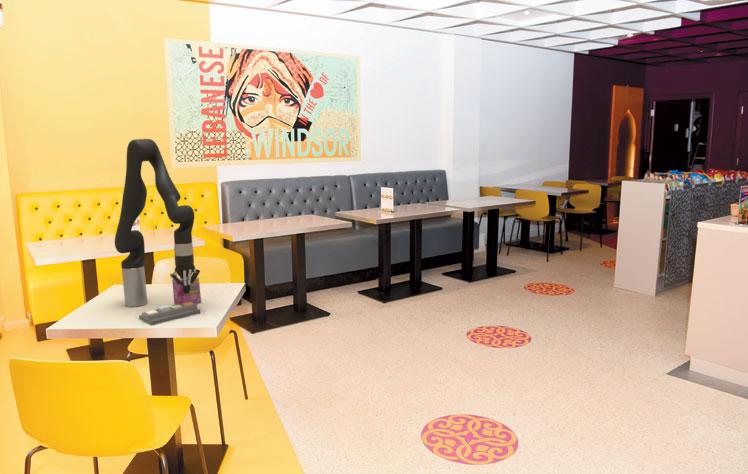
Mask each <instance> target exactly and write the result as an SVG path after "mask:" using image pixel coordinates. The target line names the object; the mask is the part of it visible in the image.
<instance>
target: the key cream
mask: <svg viewBox="0 0 748 474" xmlns="http://www.w3.org/2000/svg"><path fill="white" fill-rule="evenodd" d="M155 310H156V309H152V310H148V311H145V314H147V315H153V314H157V313H158V312H157V311H155Z"/></svg>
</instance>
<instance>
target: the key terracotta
mask: <svg viewBox="0 0 748 474" xmlns="http://www.w3.org/2000/svg"><path fill="white" fill-rule="evenodd" d="M191 305H194V303H191V302H187V303H183V304H182V306H184V307H187V306H191Z"/></svg>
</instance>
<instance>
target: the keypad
mask: <svg viewBox="0 0 748 474" xmlns="http://www.w3.org/2000/svg"><path fill="white" fill-rule="evenodd" d="M191 303H192V302H191ZM179 305H181V306H182V304H179ZM182 307H183V308H178V309H174V310H173V309H171V308H170V309H171V310H170V311H166V312H159V311H158V309H154V310H155V311H157V312H158V313H157V314H153V315H147V314H145V312H146V311H145V312H142V313H141V314H139V315H138V319H139V320H141V321H143V323H146V324H148V325H150V326H154V325H158V324H162V323H166V322H171V321H174V320H179V319H182V318H187V317H191V316H194V315H200V314H201V309H200V308H198V303H197V304H195V303H194V305H191V306H187V307H184V306H182Z"/></svg>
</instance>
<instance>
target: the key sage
mask: <svg viewBox="0 0 748 474" xmlns="http://www.w3.org/2000/svg"><path fill="white" fill-rule="evenodd" d="M169 306H170V308H171V309H173V310H174V309H178V308H183V307H182V306H181V305H175V304H174V305H169Z"/></svg>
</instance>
